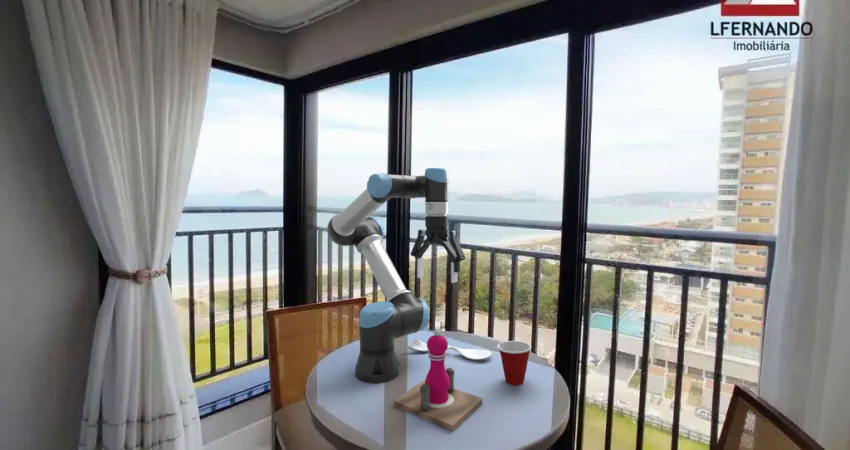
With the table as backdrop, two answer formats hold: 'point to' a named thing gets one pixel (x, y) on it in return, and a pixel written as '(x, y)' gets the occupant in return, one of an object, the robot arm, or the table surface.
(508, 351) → the plastic cup
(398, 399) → the holder
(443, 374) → the pepper mill
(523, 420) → the table surface
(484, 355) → the spoon
